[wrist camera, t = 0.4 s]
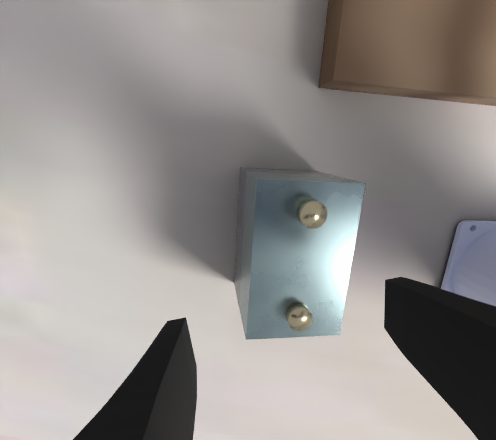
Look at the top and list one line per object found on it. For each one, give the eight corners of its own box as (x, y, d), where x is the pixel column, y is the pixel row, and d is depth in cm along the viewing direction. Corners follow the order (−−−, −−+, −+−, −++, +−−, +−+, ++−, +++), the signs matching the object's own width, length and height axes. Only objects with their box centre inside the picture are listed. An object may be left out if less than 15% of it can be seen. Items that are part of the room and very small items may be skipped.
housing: (315, 171, 18) (373, 185, 12) (301, 281, 20) (344, 342, 14) (240, 167, 17) (259, 180, 11) (233, 282, 19) (247, 347, 13)
